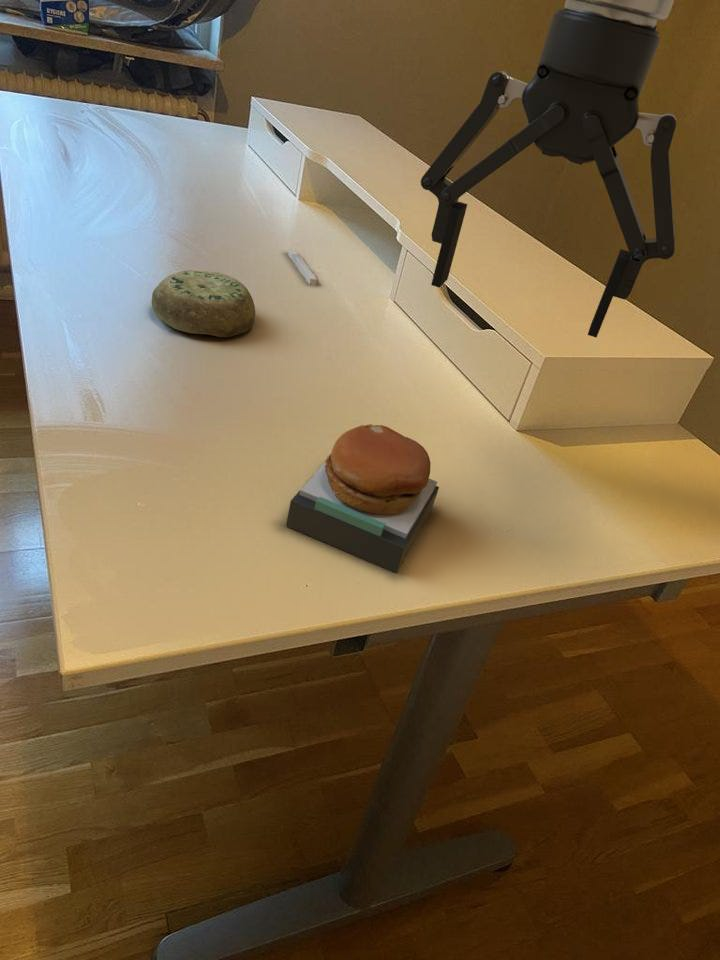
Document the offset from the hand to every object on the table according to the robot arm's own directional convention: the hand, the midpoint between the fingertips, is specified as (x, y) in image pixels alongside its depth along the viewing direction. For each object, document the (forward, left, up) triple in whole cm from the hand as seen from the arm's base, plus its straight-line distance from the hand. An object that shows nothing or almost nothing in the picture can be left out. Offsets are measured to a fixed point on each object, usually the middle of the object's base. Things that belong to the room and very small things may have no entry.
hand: (514, 306), depth 63 cm
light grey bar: (+40, -49, -22) cm, 67 cm away
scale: (+7, +7, -22) cm, 24 cm away
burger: (+7, +6, -19) cm, 21 cm away
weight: (+41, -20, -22) cm, 51 cm away
